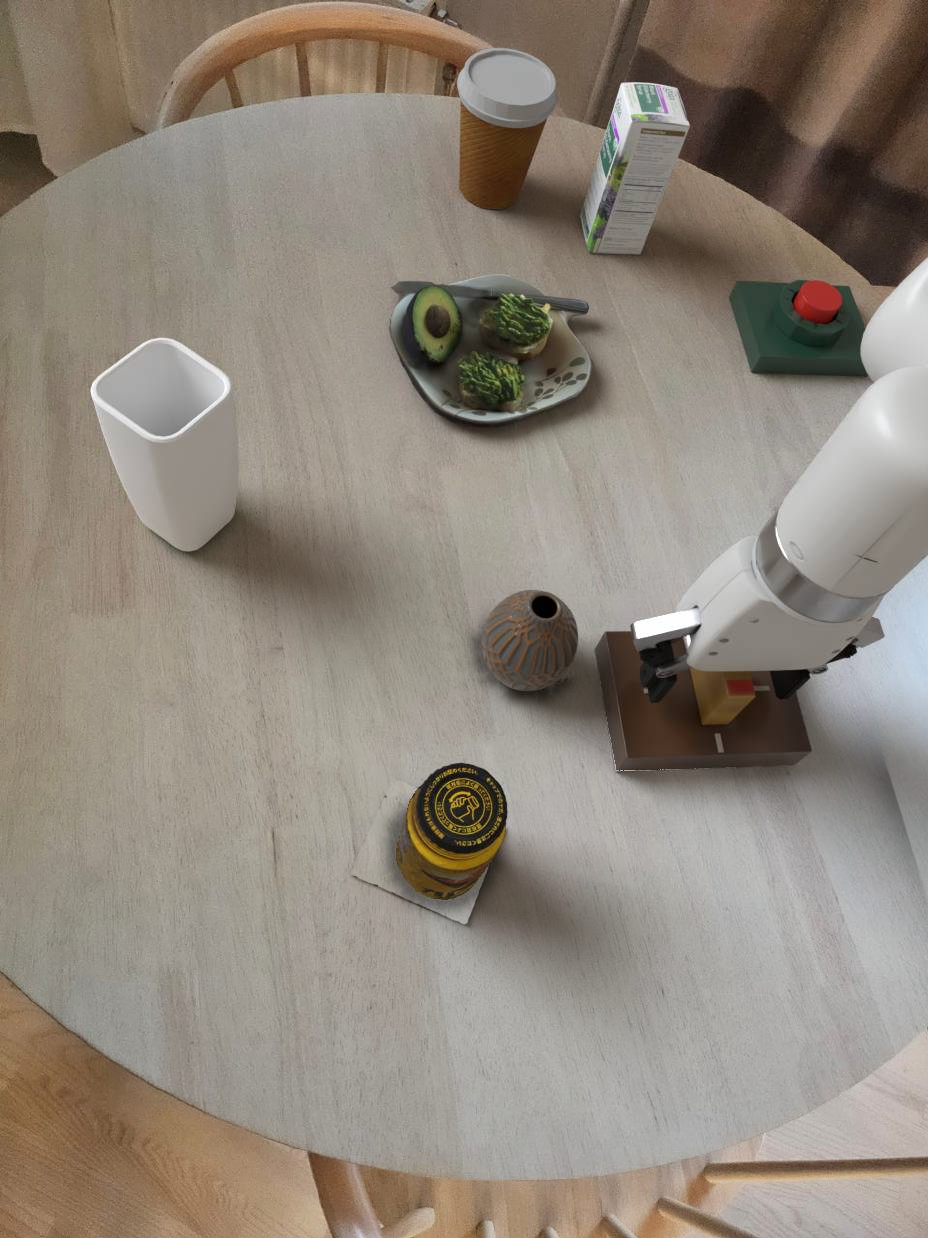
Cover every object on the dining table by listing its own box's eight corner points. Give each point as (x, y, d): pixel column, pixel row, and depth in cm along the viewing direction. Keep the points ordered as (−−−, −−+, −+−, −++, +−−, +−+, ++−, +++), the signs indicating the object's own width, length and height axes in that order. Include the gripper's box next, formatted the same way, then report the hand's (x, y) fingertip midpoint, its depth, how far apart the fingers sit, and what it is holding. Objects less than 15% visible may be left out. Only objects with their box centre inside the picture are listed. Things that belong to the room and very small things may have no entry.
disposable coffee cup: (503, 234, 95) (527, 122, 84) (425, 189, 96) (438, 74, 86) (551, 187, 99) (579, 76, 89) (475, 146, 101) (494, 31, 90)
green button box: (838, 302, 97) (858, 271, 93) (866, 377, 92) (888, 347, 89) (728, 297, 95) (744, 265, 91) (751, 373, 90) (768, 342, 87)
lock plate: (763, 646, 76) (780, 627, 73) (794, 765, 71) (813, 750, 68) (594, 649, 73) (605, 630, 71) (615, 772, 69) (627, 757, 66)
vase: (517, 721, 70) (543, 670, 62) (456, 654, 72) (474, 596, 64) (583, 669, 72) (614, 615, 65) (522, 606, 74) (546, 546, 67)
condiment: (466, 927, 62) (497, 884, 52) (348, 875, 63) (355, 823, 52) (504, 826, 66) (540, 768, 55) (392, 778, 66) (407, 711, 56)
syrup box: (577, 215, 98) (617, 78, 85) (632, 217, 99) (679, 83, 86) (587, 254, 95) (629, 119, 82) (643, 256, 96) (693, 123, 83)
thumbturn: (686, 656, 71) (712, 623, 66) (712, 656, 71) (739, 623, 66) (701, 725, 68) (729, 696, 64) (728, 724, 68) (757, 695, 64)
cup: (186, 464, 76) (160, 327, 63) (256, 513, 75) (244, 384, 62) (119, 521, 73) (77, 389, 60) (190, 573, 72) (163, 450, 59)
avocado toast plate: (544, 261, 94) (554, 222, 90) (635, 393, 87) (650, 357, 83) (363, 304, 87) (365, 264, 83) (446, 449, 81) (453, 414, 77)
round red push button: (827, 294, 92) (835, 280, 90) (838, 325, 90) (847, 311, 88) (788, 292, 91) (796, 278, 89) (799, 323, 89) (807, 309, 88)
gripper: (942, 503, 57) (811, 634, 72) (667, 500, 54) (591, 637, 69) (985, 613, 53) (838, 727, 68) (693, 616, 50) (607, 734, 65)
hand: (714, 682), depth 68 cm, fingers open, 9 cm apart
